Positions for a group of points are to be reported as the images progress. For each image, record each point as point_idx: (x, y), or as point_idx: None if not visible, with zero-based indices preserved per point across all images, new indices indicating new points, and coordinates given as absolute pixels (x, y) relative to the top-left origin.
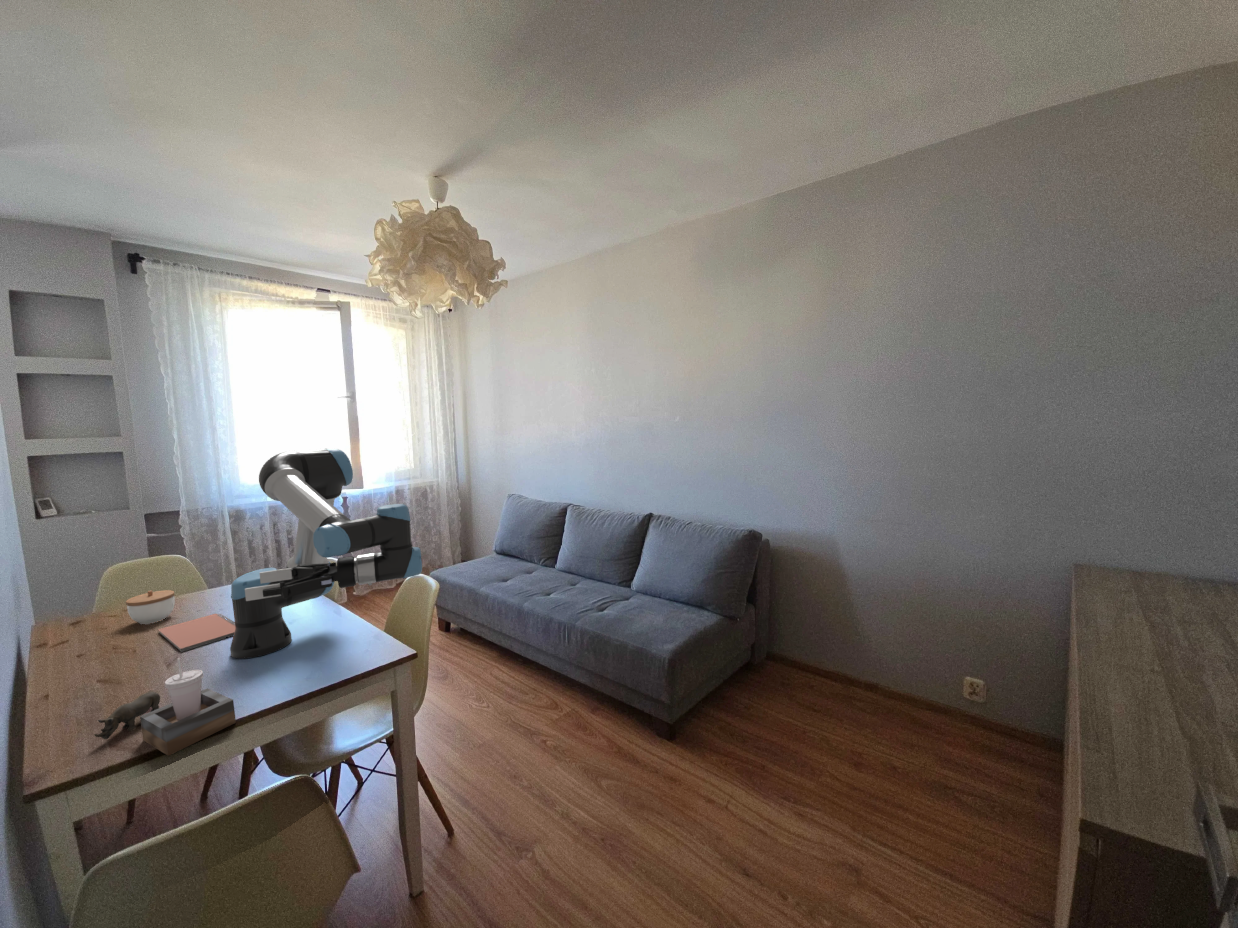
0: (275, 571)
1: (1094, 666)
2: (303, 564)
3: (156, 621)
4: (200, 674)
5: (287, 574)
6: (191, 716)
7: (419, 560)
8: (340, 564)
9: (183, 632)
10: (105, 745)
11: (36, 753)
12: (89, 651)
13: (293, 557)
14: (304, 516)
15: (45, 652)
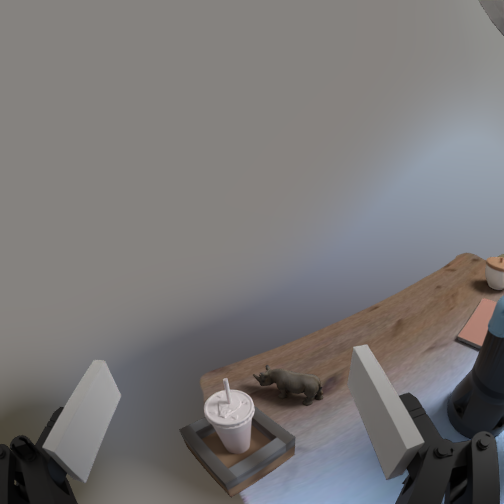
0: (376, 393)
1: None
2: (495, 457)
3: (494, 288)
4: (223, 424)
5: (388, 451)
6: (201, 446)
7: None
8: None
9: (485, 316)
10: (255, 389)
11: (270, 351)
12: (444, 287)
13: None
14: None
15: (438, 271)
